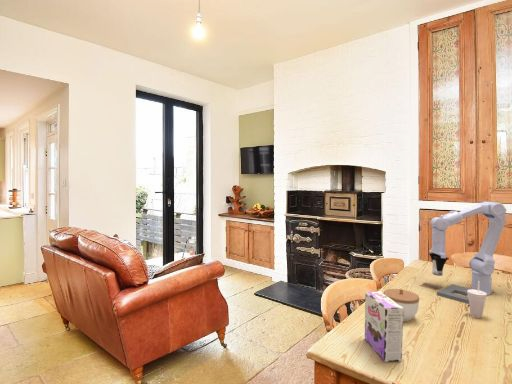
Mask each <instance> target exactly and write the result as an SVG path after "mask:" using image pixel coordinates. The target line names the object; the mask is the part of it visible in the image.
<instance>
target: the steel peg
mask: <svg viewBox="0 0 512 384" xmlns="http://www.w3.org/2000/svg"><path fill="white" fill-rule="evenodd" d="M431 268H432V272H431V273H432V275H433V276H439V277H441V276H444V269H443V270H442V271H437V268H436V261H435V259H433V263H432V267H431Z"/></svg>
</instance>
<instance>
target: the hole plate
mask: <svg viewBox="0 0 512 384" xmlns="http://www.w3.org/2000/svg"><path fill="white" fill-rule="evenodd" d="M470 289H472V287H470V288H469V287H466V286H462V285H458V284H453V283H452V284H450V285H447V286H446V287H443V288H442V289H439V290H437V292H436V296H439V297H442V298H446V299H449V300H452V301H453V300H454V301H456V302H461V303H465V304H467V307H470V306H469V298H468V293H467V290H470ZM473 290H475V289H473ZM485 293H487V292H485Z"/></svg>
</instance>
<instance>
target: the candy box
mask: <svg viewBox="0 0 512 384" xmlns="http://www.w3.org/2000/svg"><path fill="white" fill-rule="evenodd" d="M364 296H365V298H364V300H365V303H364V304H365V308H364V309H365V310H364V340H365V341H366V342H367V343H368V344H369V346H370V347H371V348H372V349H373V350H374V351H375V353H376V354H377V355H378V356H379V357H380V359H381V360H382V361H383V362H385V363H392V362H395V363H396V362H398V363H399V362H402V361H403V360H402V358H403V333H404V332H403V330H404V328H403V327H404V321H403V309H404V308H403V307H402V306H400V305H398V304H397V303H396V302H394V301H393V300H392V299H390V298H389V297H388V296H386V295H385V294H384V292H382V291H381V290H377V291H376V290H374V291H365V295H364Z"/></svg>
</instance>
